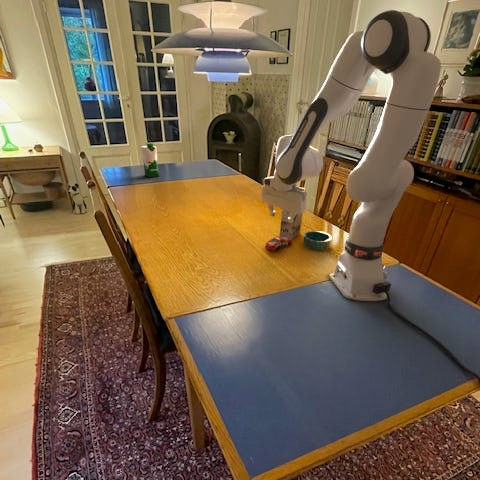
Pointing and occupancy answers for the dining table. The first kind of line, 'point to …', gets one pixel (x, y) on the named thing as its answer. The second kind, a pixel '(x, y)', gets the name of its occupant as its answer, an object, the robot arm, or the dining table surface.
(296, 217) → the coffee box
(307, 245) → the teal bowl
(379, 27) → the robot arm
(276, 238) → the race car
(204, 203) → the dining table surface
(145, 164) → the milk carton
